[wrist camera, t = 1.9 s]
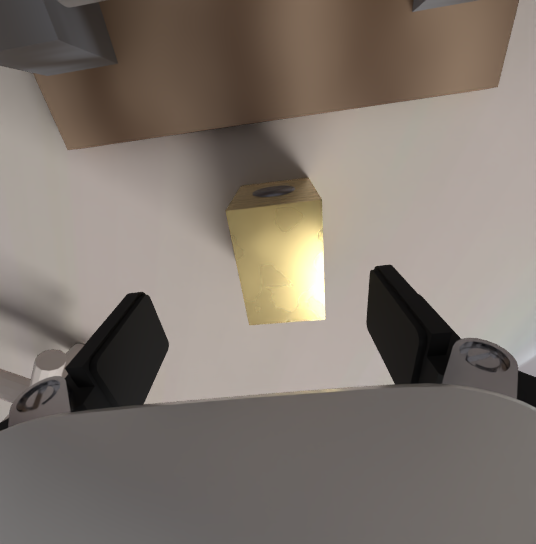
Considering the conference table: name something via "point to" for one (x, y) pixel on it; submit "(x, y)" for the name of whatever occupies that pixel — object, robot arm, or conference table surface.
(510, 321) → the conference table surface
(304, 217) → the block
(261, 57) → the shaft stand
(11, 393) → the pipe connector
